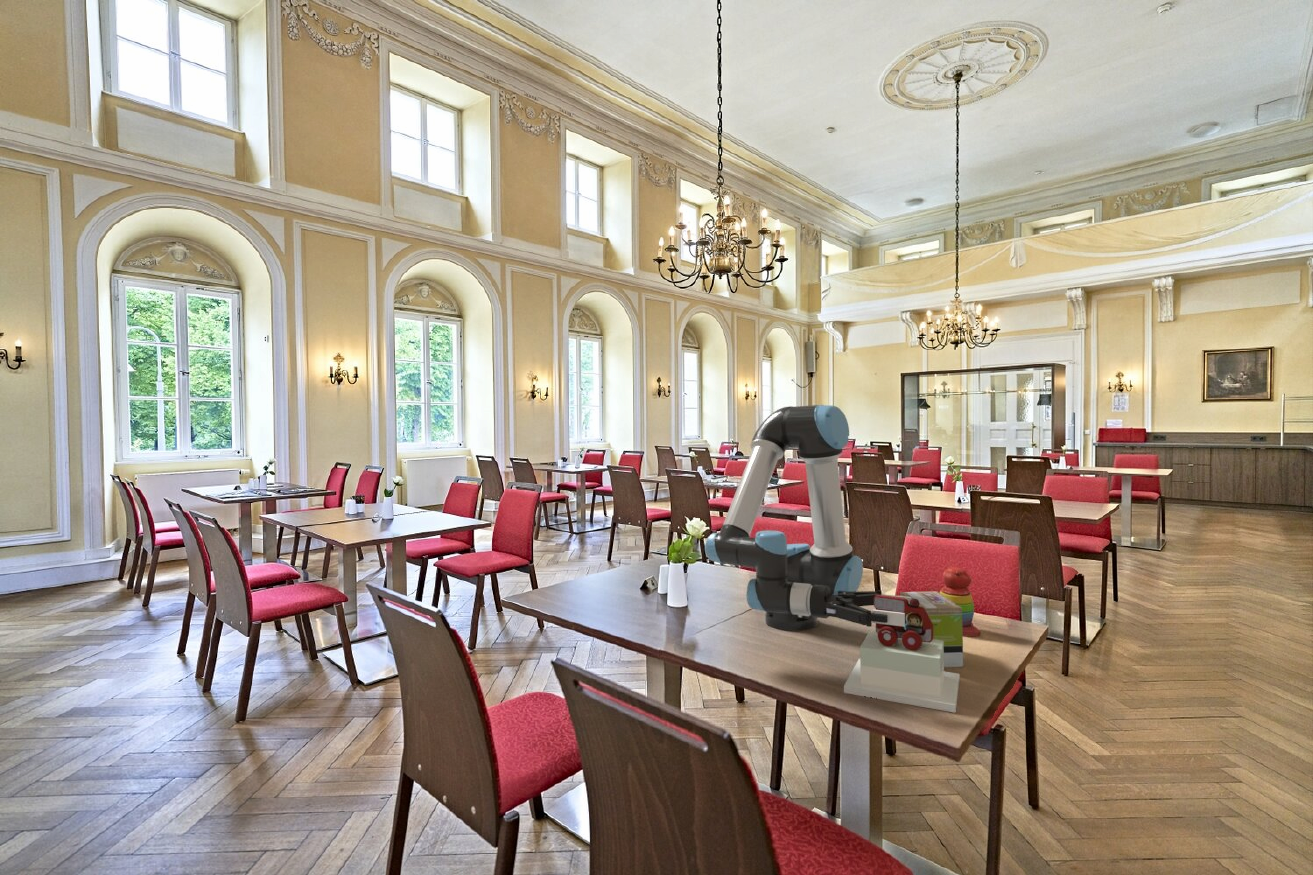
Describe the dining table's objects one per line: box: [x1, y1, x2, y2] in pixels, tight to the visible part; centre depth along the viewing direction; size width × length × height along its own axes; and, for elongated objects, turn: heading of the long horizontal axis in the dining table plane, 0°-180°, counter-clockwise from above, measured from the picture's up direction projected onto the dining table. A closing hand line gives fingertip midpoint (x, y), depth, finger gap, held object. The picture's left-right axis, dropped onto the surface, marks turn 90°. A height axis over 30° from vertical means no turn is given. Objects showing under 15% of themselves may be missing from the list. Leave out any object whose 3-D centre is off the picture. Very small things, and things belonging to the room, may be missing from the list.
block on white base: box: [843, 630, 960, 714], centre depth 139 cm, size 22×18×10 cm
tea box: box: [899, 590, 964, 668], centre depth 156 cm, size 15×10×15 cm
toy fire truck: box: [873, 595, 933, 650], centre depth 138 cm, size 7×12×10 cm, turn 57°
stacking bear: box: [939, 565, 981, 637], centre depth 176 cm, size 11×10×18 cm
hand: (908, 611), depth 138 cm, fingers open, 13 cm apart
